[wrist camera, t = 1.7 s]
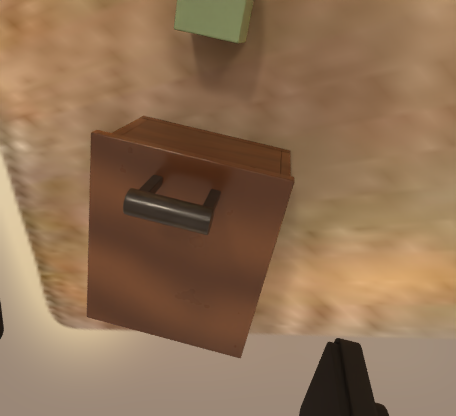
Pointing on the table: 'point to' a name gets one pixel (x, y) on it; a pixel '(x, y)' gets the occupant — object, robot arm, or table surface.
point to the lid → (179, 241)
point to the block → (215, 18)
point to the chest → (209, 144)
